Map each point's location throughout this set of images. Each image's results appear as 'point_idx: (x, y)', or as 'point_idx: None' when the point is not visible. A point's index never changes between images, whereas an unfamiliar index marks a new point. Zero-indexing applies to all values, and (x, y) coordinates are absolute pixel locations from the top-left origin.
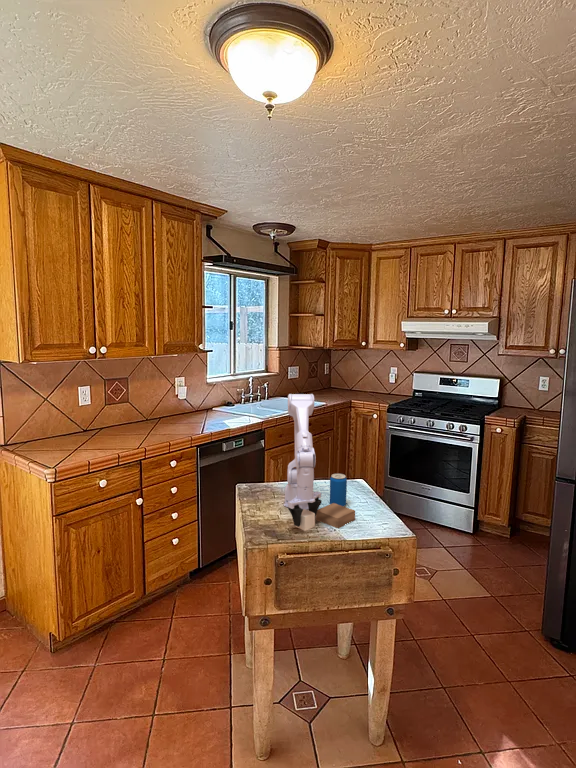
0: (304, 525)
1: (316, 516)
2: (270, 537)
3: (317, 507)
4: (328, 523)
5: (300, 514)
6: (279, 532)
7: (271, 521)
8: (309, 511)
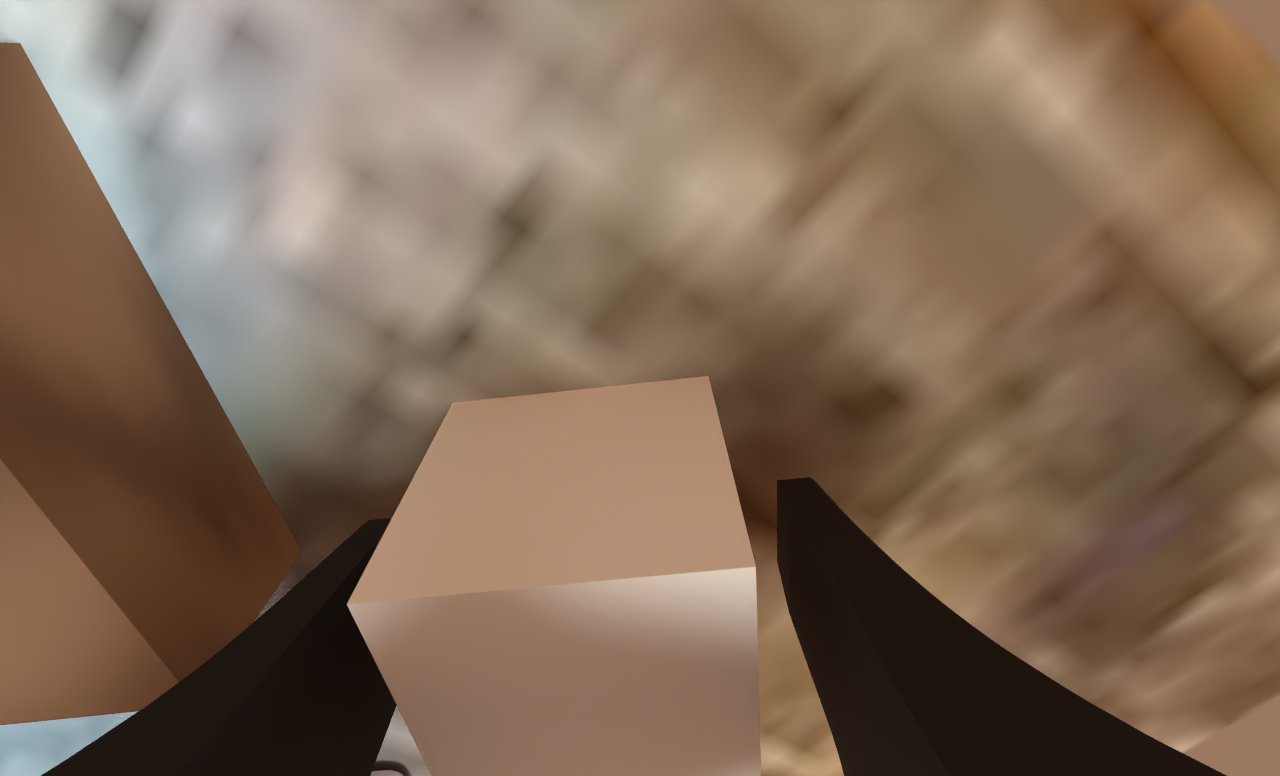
0: (723, 438)
1: (264, 593)
2: (1260, 496)
3: (140, 754)
4: (147, 322)
5: (941, 682)
6: (1035, 539)
7: None
8: (428, 713)
